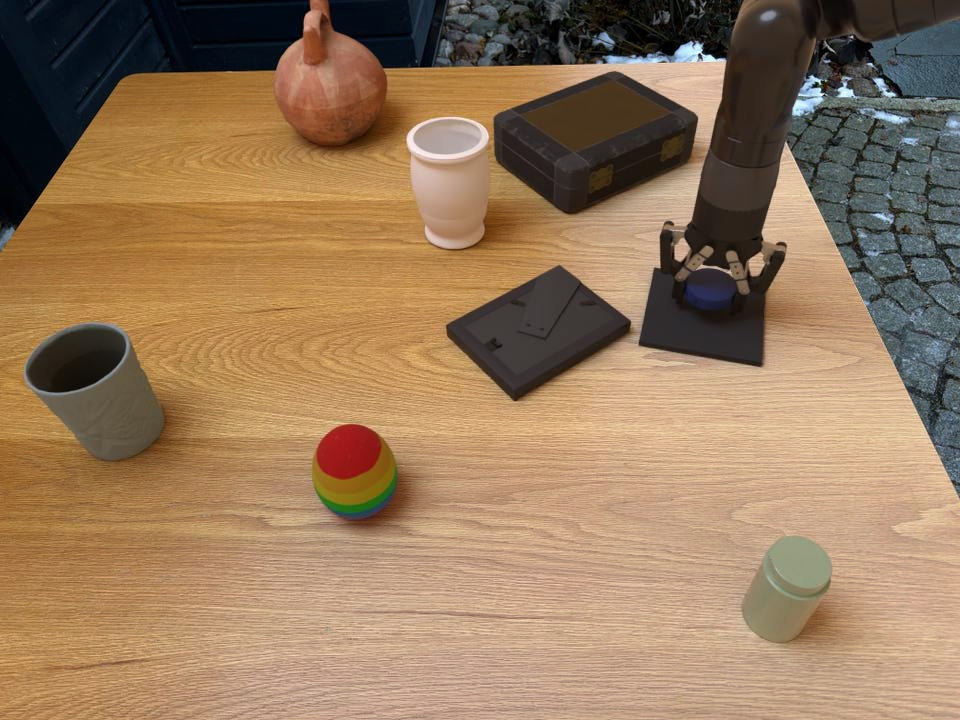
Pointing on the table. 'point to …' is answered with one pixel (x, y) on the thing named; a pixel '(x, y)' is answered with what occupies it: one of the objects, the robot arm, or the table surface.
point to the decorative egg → (354, 471)
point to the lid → (710, 289)
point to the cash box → (593, 139)
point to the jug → (329, 83)
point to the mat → (702, 326)
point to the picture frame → (537, 331)
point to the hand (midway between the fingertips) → (706, 305)
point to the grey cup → (97, 389)
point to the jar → (450, 179)
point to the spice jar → (787, 588)
